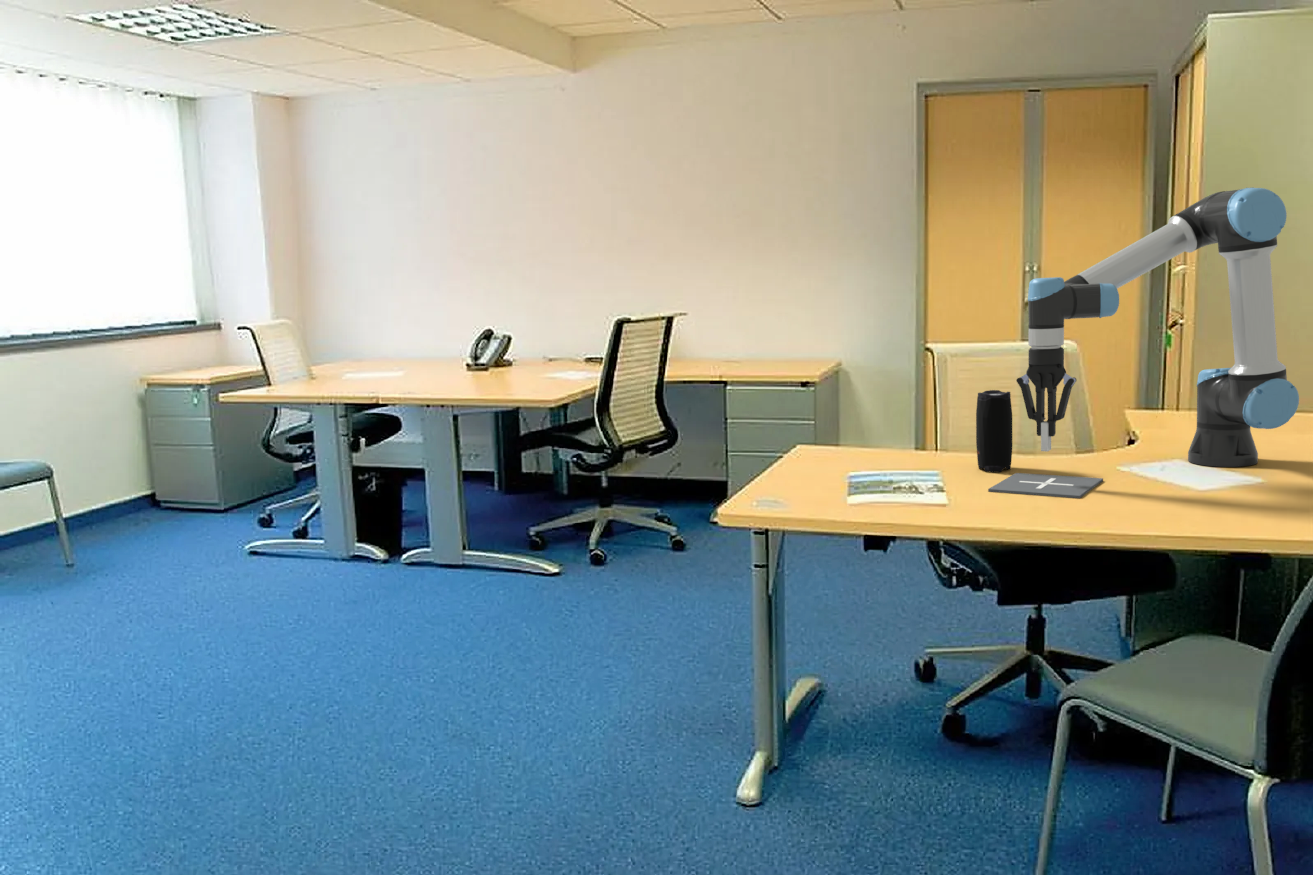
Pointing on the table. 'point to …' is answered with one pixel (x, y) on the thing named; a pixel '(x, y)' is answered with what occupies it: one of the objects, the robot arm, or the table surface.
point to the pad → (1046, 485)
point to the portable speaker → (994, 430)
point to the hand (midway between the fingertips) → (1046, 450)
